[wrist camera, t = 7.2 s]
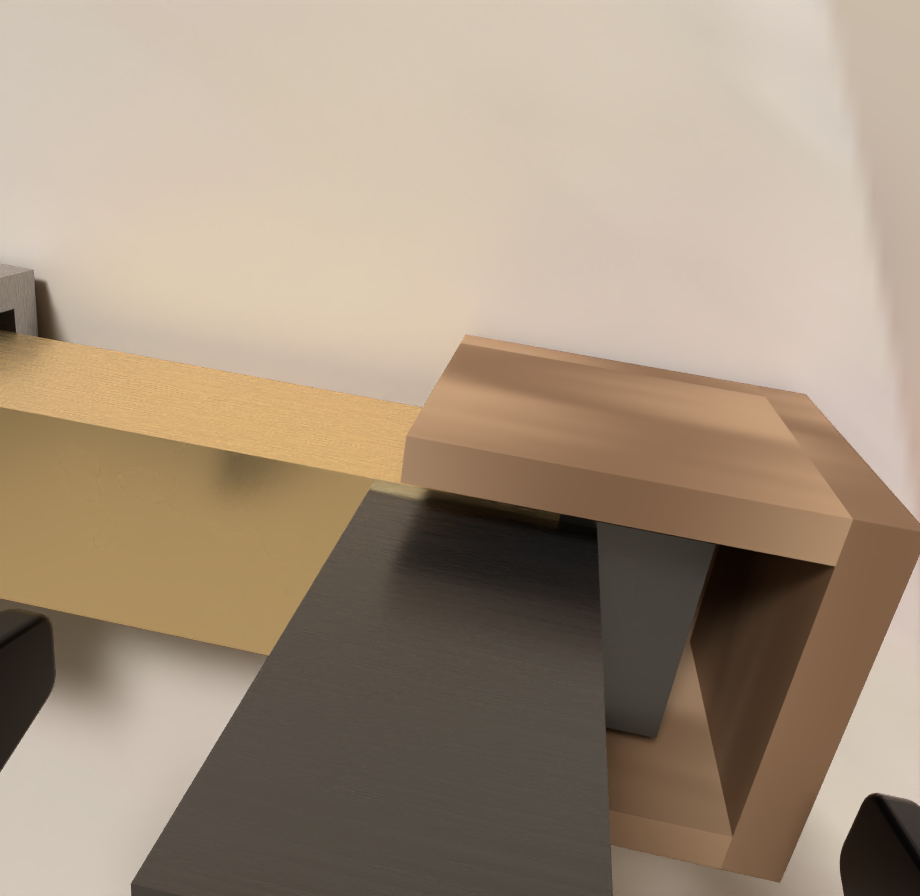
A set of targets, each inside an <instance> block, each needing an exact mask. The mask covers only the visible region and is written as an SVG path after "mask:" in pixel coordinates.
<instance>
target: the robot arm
mask: <svg viewBox="0 0 920 896" xmlns="http://www.w3.org/2000/svg"><path fill="white" fill-rule="evenodd" d="M55 675H56V669H55V655H54V641H53V628H52V623H51V621H50V619H49V618H48V617H46V616H45V615H43V614H39V613H34V612H29V611H25V610H20V609H9V610H5V611H3V612H0V772H1V770H2V769H3V767H4V766H5V764H6V763H7V761H8V760H9V758H10V756H11V755H12V753H13V752H14V750H15V749H16V747H17V745H18V744H19V742H20V741H21V739H22V738H23V736H24V735H25V733H26V731H27V730H28V728H29V727H30V725H31V724H32V722H33V721H34V719H35V717H36V716H37V714H38V713H39V711H40V710H41V708H42V706H43V705H44V703H45V702H46V700H47V699H48V697H49V695H50V693H51V691H52V689H53V686H54V682H55ZM840 874H841V880H842V886H843V892H844V896H920V806H918V805H917V804H916V803H914V802H913V801H910V800H908V799H904V798H899V797H894V796H890V795H885V794H880V793H873V794H870V795H868V796H867V797H866V798H865V800H864V801H863V803H862V805H861V807H860V809H859V811H858V814H857V816H856V818H855V820H854V822H853V825H852V827H851V829H850V831H849V833H848V836H847V838H846V840H845V842H844V844H843V847H842V850H841V855H840Z"/></svg>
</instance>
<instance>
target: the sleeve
mask: <svg viewBox="0 0 920 896" xmlns="http://www.w3.org/2000/svg"><path fill="white" fill-rule="evenodd" d="M0 330H3V331H8V332H13V333H19V334H24V335H30V336H35V337H38V327H37V312H36V298H35V283H34V270H32V269H27V268H21V267H15V266H10V265H4V264H0Z"/></svg>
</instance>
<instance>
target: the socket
mask: <svg viewBox="0 0 920 896" xmlns="http://www.w3.org/2000/svg"><path fill="white" fill-rule="evenodd" d="M400 483H404V484H409V485H414V486H419V487H425V488H430V489H435V490H440V491H445V492H451V493H456V494H461V495H466V496H471V497H477V498H482V499H487V500H492V501H497V502H503V503H508V504H513V505H518V506H523V507H529V508H534V509H539V510H544V511H550V512H555V513H560V514H565V515H570V516H576V517H581V518H586V519H591V520H596V521H602V522H607V523H612V524H617V525H622V526H628V527H633V528H638V529H643V530H648V531H654V532H659V533H664V534H669V535H674V536H680V537H685V538H690V539H695V540H700V541H706V542H711V543H716V546H715V549H714V552H713V555H712V559H711V562H710V565H709V568H708V572H707V575H706V578H705V582H704V585H703V588H702V591H701V595H700V598H699V601H698V604H697V608H696V611H695V614H694V617H693V621H692V624H691V627H690V630H689V634H688V637H687V640H686V643H685V647H684V650H683V653H682V656H681V660H680V663H679V666H678V669H677V673H676V676H675V679H674V682H673V686H672V689H671V692H670V695H669V699H668V702H667V705H666V708H665V712H664V715H663V718H662V722H661V725H660V728H659V731H658V735H657V738H653V737H648V736H644V735H639V734H634V733H630V732H625V731H620V730H616V729H611V728H606V751H607V775H608V799H609V822H610V845H615V846H619V847H624V848H628V849H633V850H637V851H642V852H646V853H650V854H655V855H659V856H664V857H668V858H673V859H677V860H682V861H686V862H690V863H695V864H699V865H704V866H708V867H713V868H717V869H722V870H726V871H731V872H735V873H739V874H744V875H748V876H753V877H757V878H762V879H766V880H771V881H775V882H779V883H780V882H781V880H782V877H783V875H784V872H785V870H786V868H787V865H788V863H789V861H790V858H791V856H792V854H793V851H794V849H795V847H796V844H797V842H798V840H799V837H800V835H801V832H802V830H803V828H804V825H805V823H806V821H807V818H808V816H809V814H810V811H811V809H812V807H813V804H814V802H815V800H816V797H817V795H818V793H819V790H820V788H821V785H822V783H823V781H824V778H825V776H826V774H827V771H828V769H829V767H830V764H831V762H832V760H833V757H834V755H835V753H836V750H837V748H838V745H839V743H840V741H841V738H842V736H843V734H844V731H845V729H846V727H847V724H848V722H849V720H850V717H851V715H852V713H853V710H854V708H855V706H856V703H857V701H858V698H859V696H860V694H861V691H862V689H863V687H864V684H865V682H866V680H867V677H868V675H869V673H870V670H871V668H872V666H873V663H874V661H875V658H876V656H877V654H878V651H879V649H880V647H881V644H882V642H883V640H884V637H885V635H886V633H887V630H888V628H889V626H890V623H891V621H892V618H893V616H894V614H895V611H896V609H897V607H898V604H899V602H900V600H901V597H902V595H903V593H904V590H905V588H906V586H907V583H908V581H909V579H910V576H911V574H912V571H913V569H914V567H915V564H916V562H917V560H918V557H919V555H920V523H919V522H918V521H917V520H916V519H915V517H914V516H913V515H912V514H911V513H910V512H909V511H908V510H907V508H906V507H905V506H904V505H903V504H902V503H901V502H900V500H899V499H898V498H897V497H896V496H895V495H894V494H893V493H892V491H891V490H890V489H889V488H888V487H887V486H886V485H885V483H884V482H883V481H882V480H881V479H880V478H879V477H878V476H877V474H876V473H875V472H874V471H873V470H872V469H871V468H870V466H869V465H868V464H867V463H866V462H865V461H864V460H863V459H862V457H861V456H860V455H859V454H858V453H857V452H856V451H855V449H854V448H853V447H852V446H851V445H850V444H849V443H848V442H847V440H846V439H845V438H844V437H843V436H842V435H841V434H840V433H839V431H838V430H837V429H836V428H835V427H834V426H833V425H832V423H831V422H830V421H829V420H828V419H827V418H826V417H825V416H824V414H823V413H822V412H821V411H820V410H819V409H818V408H817V406H816V405H815V404H814V403H813V402H812V401H811V400H810V399H809V397H808V396H807V395H806V394H801V393H795V392H790V391H784V390H778V389H772V388H767V387H761V386H755V385H750V384H744V383H738V382H733V381H727V380H721V379H715V378H710V377H704V376H698V375H693V374H687V373H681V372H676V371H670V370H664V369H658V368H653V367H647V366H641V365H636V364H630V363H624V362H619V361H613V360H607V359H601V358H596V357H590V356H584V355H579V354H573V353H567V352H562V351H556V350H550V349H545V348H539V347H533V346H527V345H522V344H516V343H510V342H505V341H499V340H493V339H488V338H482V337H476V336H470V335H465V337H464V338H463V340H462V342H461V344H460V345H459V347H458V349H457V350H456V352H455V354H454V355H453V357H452V359H451V360H450V362H449V364H448V366H447V367H446V369H445V371H444V372H443V374H442V376H441V377H440V379H439V381H438V383H437V384H436V386H435V388H434V389H433V391H432V393H431V394H430V396H429V398H428V400H427V401H426V403H425V405H424V406H423V408H422V410H421V411H420V413H419V415H418V417H417V418H416V420H415V422H414V423H413V425H412V427H411V428H410V430H409V432H408V434H407V435H406V441H405V449H404V458H403V466H402V474H401V482H400Z"/></svg>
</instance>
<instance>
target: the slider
mask: <svg viewBox="0 0 920 896" xmlns="http://www.w3.org/2000/svg"><path fill="white" fill-rule="evenodd" d="M421 410H422V408H421V407H416V406H410V405H405V404H400V403H394V402H389V401H383V400H378V399H372V398H367V397H362V396H356V395H351V394H345V393H340V392H334V391H329V390H323V389H318V388H313V387H307V386H302V385H296V384H291V383H285V382H280V381H274V380H269V379H264V378H258V377H253V376H247V375H242V374H236V373H231V372H226V371H220V370H215V369H209V368H204V367H198V366H193V365H187V364H182V363H177V362H171V361H166V360H160V359H155V358H149V357H144V356H139V355H133V354H128V353H122V352H117V351H111V350H106V349H100V348H95V347H90V346H84V345H79V344H73V343H68V342H62V341H57V340H52V339H46V338H41V337H35V336H30V335H24V334H19V333H13V332H8V331H3V330H0V598H1V599H5V600H10V601H15V602H19V603H24V604H29V605H33V606H38V607H43V608H48V609H52V610H57V611H62V612H66V613H71V614H76V615H80V616H85V617H90V618H95V619H99V620H104V621H109V622H113V623H118V624H123V625H127V626H132V627H137V628H141V629H146V630H151V631H156V632H160V633H165V634H170V635H174V636H179V637H184V638H188V639H193V640H198V641H202V642H207V643H212V644H217V645H221V646H226V647H231V648H235V649H240V650H245V651H249V652H254V653H259V654H263V655H268V658H267V659H266V661H265V663H264V664H263V666H262V668H261V669H260V671H259V673H258V674H257V676H256V678H255V679H254V681H253V683H252V684H251V686H250V688H249V689H248V691H247V693H246V694H245V696H244V698H243V699H242V701H241V702H240V704H239V706H238V707H237V709H236V711H235V712H234V714H233V716H232V717H231V719H230V721H229V722H228V724H227V726H226V727H225V729H224V731H223V732H222V734H221V736H220V737H219V739H218V741H217V742H216V744H215V746H214V747H213V749H212V750H211V752H210V754H209V755H208V757H207V759H206V760H205V762H204V764H203V765H202V767H201V769H200V770H199V772H198V774H197V775H196V777H195V779H194V780H193V782H192V784H191V785H190V787H189V789H188V790H187V792H186V794H185V795H184V797H183V798H182V800H181V802H180V803H179V805H178V807H177V808H176V810H175V812H174V813H173V815H172V817H171V818H170V820H169V822H168V823H167V825H166V827H165V828H164V830H163V832H162V833H161V835H160V837H159V838H158V840H157V842H156V843H155V845H154V846H153V848H152V850H151V851H150V853H149V855H148V856H147V858H146V860H145V861H144V863H143V865H142V866H141V868H140V870H139V871H138V873H137V875H136V876H135V878H134V880H133V881H132V883H131V896H613V893H612V870H611V846H610V822H609V799H608V775H607V751H606V728H611V729H616V730H620V731H625V732H630V733H634V734H639V735H644V736H648V737H653V738H657V735H658V731H659V728H660V725H661V722H662V718H663V715H664V712H665V708H666V705H667V702H668V699H669V695H670V692H671V689H672V686H673V682H674V679H675V676H676V673H677V669H678V666H679V663H680V660H681V656H682V653H683V650H684V647H685V643H686V640H687V637H688V634H689V630H690V627H691V624H692V621H693V617H694V614H695V611H696V608H697V604H698V601H699V598H700V595H701V591H702V588H703V585H704V582H705V578H706V575H707V572H708V568H709V565H710V562H711V559H712V555H713V552H714V549H715V546H716V543H711V542H706V541H700V540H695V539H690V538H685V537H680V536H674V535H669V534H664V533H659V532H654V531H648V530H643V529H638V528H633V527H628V526H622V525H617V524H612V523H607V522H602V521H596V520H591V519H586V518H581V517H576V516H570V515H565V514H560V513H555V512H550V511H544V510H539V509H534V508H529V507H523V506H518V505H513V504H508V503H503V502H497V501H492V500H487V499H482V498H477V497H471V496H466V495H461V494H456V493H451V492H445V491H440V490H435V489H430V488H425V487H419V486H414V485H409V484H404V483H400V482H401V474H402V466H403V458H404V449H405V441H406V435H407V434H408V432H409V430H410V428H411V427H412V425H413V423H414V422H415V420H416V418H417V417H418V415H419V413H420V411H421Z"/></svg>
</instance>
